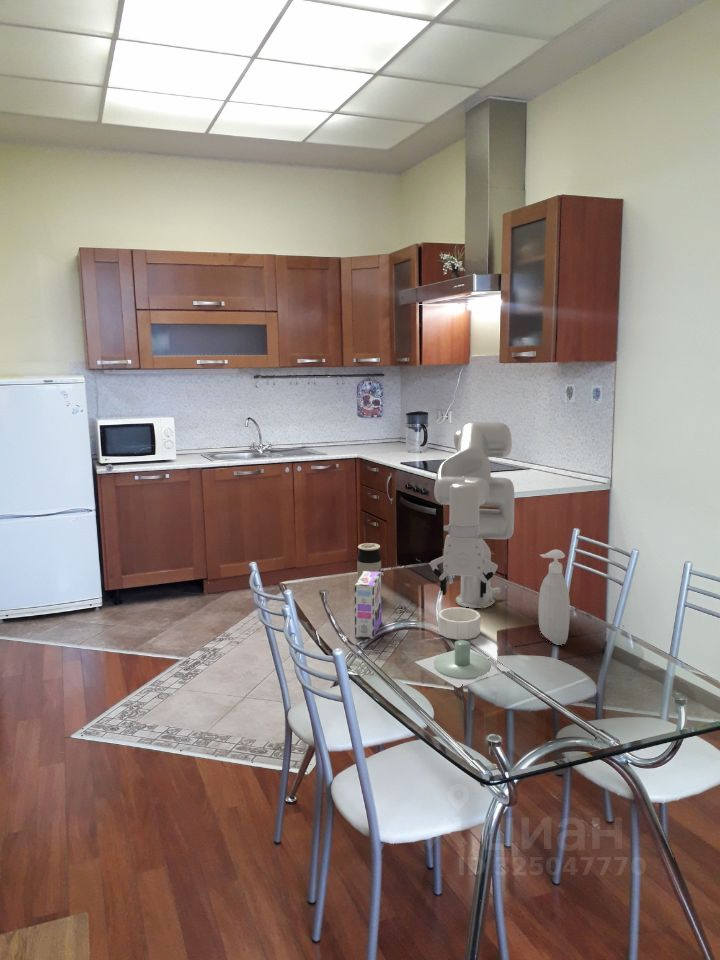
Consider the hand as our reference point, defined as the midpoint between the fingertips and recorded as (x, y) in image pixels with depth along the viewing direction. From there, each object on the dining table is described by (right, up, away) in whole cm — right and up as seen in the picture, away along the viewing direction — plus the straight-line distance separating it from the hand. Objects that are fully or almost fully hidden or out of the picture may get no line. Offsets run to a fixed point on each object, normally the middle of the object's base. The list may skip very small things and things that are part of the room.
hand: (463, 594), depth 191 cm
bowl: (+2, -16, +26) cm, 31 cm away
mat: (0, -20, +4) cm, 20 cm away
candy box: (-24, -16, +30) cm, 42 cm away
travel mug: (-24, -10, +59) cm, 64 cm away
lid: (0, -19, +4) cm, 20 cm away
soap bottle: (+28, -17, +21) cm, 39 cm away
